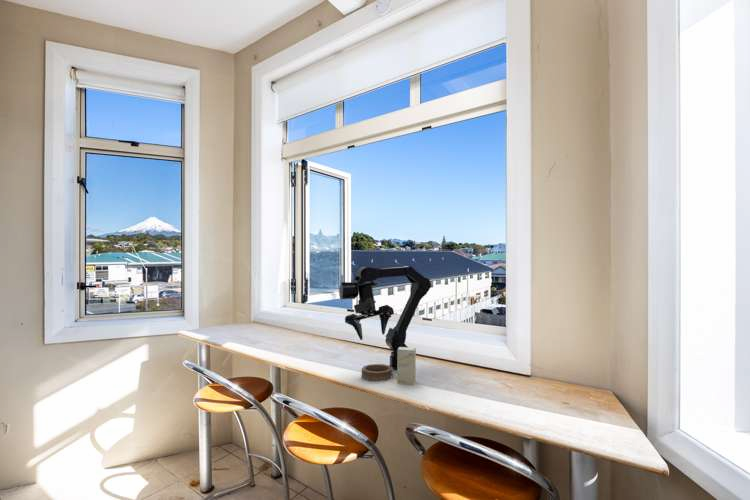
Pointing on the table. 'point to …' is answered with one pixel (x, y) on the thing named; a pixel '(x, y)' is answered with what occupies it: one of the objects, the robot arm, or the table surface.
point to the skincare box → (406, 365)
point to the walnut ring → (377, 372)
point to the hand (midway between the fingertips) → (372, 337)
